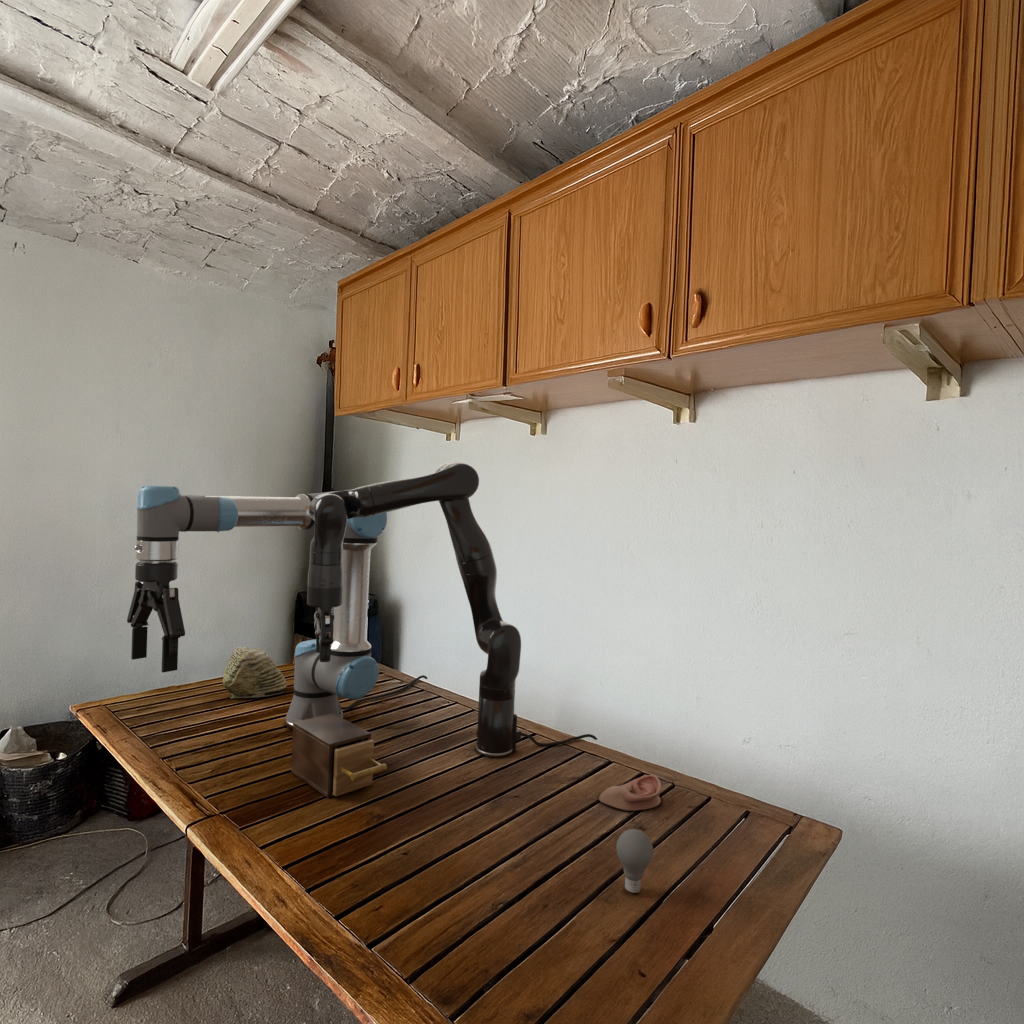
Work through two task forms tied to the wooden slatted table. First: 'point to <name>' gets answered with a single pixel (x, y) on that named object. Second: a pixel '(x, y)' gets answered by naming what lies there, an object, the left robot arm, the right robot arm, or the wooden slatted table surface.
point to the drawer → (354, 766)
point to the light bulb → (634, 857)
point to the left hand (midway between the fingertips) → (153, 664)
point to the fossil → (252, 674)
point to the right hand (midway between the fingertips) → (322, 656)
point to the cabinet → (321, 748)
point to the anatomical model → (634, 794)
